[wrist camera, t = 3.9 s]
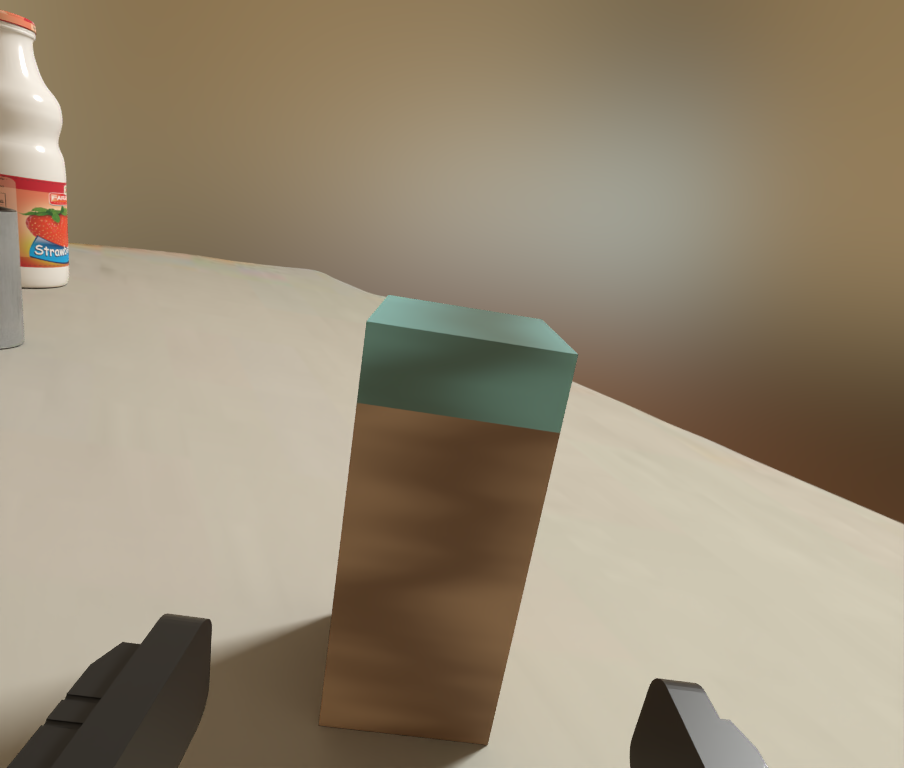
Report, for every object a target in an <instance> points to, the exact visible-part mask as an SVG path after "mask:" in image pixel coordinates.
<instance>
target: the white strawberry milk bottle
mask: <svg viewBox="0 0 904 768" xmlns="http://www.w3.org/2000/svg"><path fill="white" fill-rule="evenodd" d="M35 36H36V29H35V25H34V23H33V22H31V21H30V20H28V19H26V18H24V17H21V16H18V15H16V14H13V13H10V12H6V11H3V10H0V207H5V208H10V209H14V210H16V211H17V217H18V234H19V251H20V268H21V286H22V287H25V288H48V287H59V286H63V285H66V284H67V283H68V280H69V254H68V226H67V225H68V224H67V198H66V197H67V195H66V170H65V163H64V158H63V155H62V153H61V151H60V149H59V146H58V139H59V135H60V132H61V128H62V122H63V120H62V112H61V108H60V105H59V103H58V102H57V100H56V98H55V97H54V96H53V94H52V93H51V92H50V91H49V89H48V88H47V86H46V85H45V83H44V82H43V80H42V77H41V75H40V73H39V70H38V67H37V64H36V61H35V57H34V53H33V41H35V40H36V38H35Z"/></svg>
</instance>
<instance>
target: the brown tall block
mask: <svg viewBox="0 0 904 768" xmlns="http://www.w3.org/2000/svg"><path fill="white" fill-rule="evenodd" d="M577 358H578V354H577V353H576V352H575V351H574V350H573V349H572V348H571V347H570V346H569V345H568V344H567V343H565V341H564V340H562V339H561V338H560V337H559V336H558V335H557V334H556V333H555V332H554V331H553V330H552V329H551V328H550V327H549V326H548V325H547V324H546V323H545V322H544V321H543V320H542V319H535V318H529V317H523V316H517V315H510V314H504V313H498V312H492V311H486V310H479V309H473V308H467V307H460V306H454V305H448V304H442V303H435V302H429V301H423V300H417V299H410V298H404V297H398V296H392V295H388V296H387V297H386V299H385V300H384V301H383V302H382V303H381V305H380V306H379V307H378V308H377V309H376V311H375V312H374V313H373V314H372V315H371V317H370V318H369V319H368V320H367V322H366V330H365V339H364V347H363V356H362V364H361V373H360V381H359V389H358V398H357V406H356V415H355V423H354V432H353V440H352V448H351V457H350V465H349V474H348V482H347V491H346V499H345V507H344V516H343V524H342V533H341V541H340V550H339V558H338V566H337V575H336V583H335V592H334V600H333V609H332V617H331V625H330V634H329V642H328V651H327V659H326V667H325V676H324V684H323V693H322V701H321V710H320V718H319V726H328V727H337V728H345V729H354V730H363V731H372V732H380V733H389V734H398V735H406V736H415V737H424V738H432V739H441V740H450V741H458V742H467V743H476V744H484V745H488V741H489V737H490V732H491V728H492V724H493V719H494V715H495V711H496V706H497V702H498V698H499V694H500V689H501V685H502V681H503V676H504V672H505V668H506V663H507V659H508V655H509V650H510V646H511V642H512V638H513V633H514V629H515V625H516V620H517V616H518V612H519V607H520V603H521V599H522V594H523V590H524V586H525V582H526V577H527V573H528V569H529V564H530V560H531V556H532V551H533V547H534V543H535V538H536V534H537V530H538V526H539V521H540V517H541V513H542V508H543V504H544V500H545V495H546V491H547V487H548V482H549V478H550V474H551V470H552V465H553V461H554V457H555V452H556V448H557V444H558V439H559V435H560V431H561V426H562V422H563V418H564V414H565V409H566V405H567V401H568V396H569V392H570V388H571V383H572V379H573V375H574V370H575V366H576V362H577Z"/></svg>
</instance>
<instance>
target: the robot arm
mask: <svg viewBox="0 0 904 768" xmlns="http://www.w3.org/2000/svg"><path fill="white" fill-rule="evenodd" d="M211 635H212V624H211V620H210V619H205V618H198V617H190V616H182V615H174V614H165V615H163V616H162V617H161V618H160V619H159V620H158V621H157V623H156V624H155V626H154V627H153V628H152V630H151V631H150V632H149V634H148V635H147V636H146V638H145V639H144V641H143V642H142V643H141V644H134V643H126V642H122V643H121V644H119V645H118V646H116V647H115V648H113V649H112V650H111V651H109V652H108V653H106V654H105V655H103V656H102V657H101V658H99V659H98V660H96V661H95V662H94V663H92V664H91V665H90V666H89V667H88V668H87V669H86V671H85V672H84V673H83V674H82V676H81V677H80V678H79V679H78V681H77V682H76V683H75V684H74V685H73V687H72V688H71V689H70V690H69V692H68V693H67V695H66V698H65V700H61V702H60V703H59V704H58V705H57V706H56V708H55V709H54V710H53V711H52V713H51V714H50V715H49V716H48V718H47V719H46V723H45V724H44V726H42V725H41V726H40V727H39V729H38V730H37V731H36V732H35V734H34V735H33V736H32V737H31V739H30V740H29V741H28V742H27V744H26V745H25V746H24V747H23V748H22V750H21V751H20V752H19V753H18V755H17V756H16V757H15V758H14V760H13V761H12V762H11V763H10V764H9V766H8V767H7V768H178V766H179V764H180V762H181V760H182V758H183V756H184V754H185V752H186V750H187V748H188V746H189V744H190V742H191V740H192V738H193V736H194V734H195V732H196V730H197V727H198V725H199V723H200V720H201V717H202V715H203V712H204V708H205V705H206V701H207V696H208V691H209V677H210V656H211ZM630 767H631V768H768V766H767V764H766V763H765V761H764V759H763V758H762V756H761V754H760V753H759V751H758V749H757V748H756V747H755V746H754V745H753V744H752V743H751V742H750V741H749V740H748V739H747V738H746V736H745V735H744V734H743V733H742V732H741V731H740V730H739V729H738V728H737V727H736V726H735V725H734V724H733V723H732V722H731V721H730V720H725V719H720V718H719V716H718V714H717V712H716V710H715V709H714V707H713V705H712V703H711V701H710V700H709V698H708V696H707V694H706V692H705V691H704V689H703V688H702V687H701V686H700V685H698V684H696V683H690V682H682V681H674V680H666V679H658V678H656V679H654V680H653V681H652V682H651V684H650V686H649V689H648V692H647V695H646V698H645V701H644V704H643V707H642V710H641V713H640V716H639V719H638V722H637V725H636V728H635V731H634V734H633V737H632V740H631V745H630Z"/></svg>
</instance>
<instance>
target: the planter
mask: <svg viewBox="0 0 904 768" xmlns="http://www.w3.org/2000/svg"><path fill="white" fill-rule="evenodd" d="M23 343H24V321H23V303H22V286H21V268H20V251H19V234H18V217H17V211H16V210H14V209H10V208H5V207H0V349H4V348H11V347H16V346H19V345H21V344H23Z"/></svg>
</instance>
